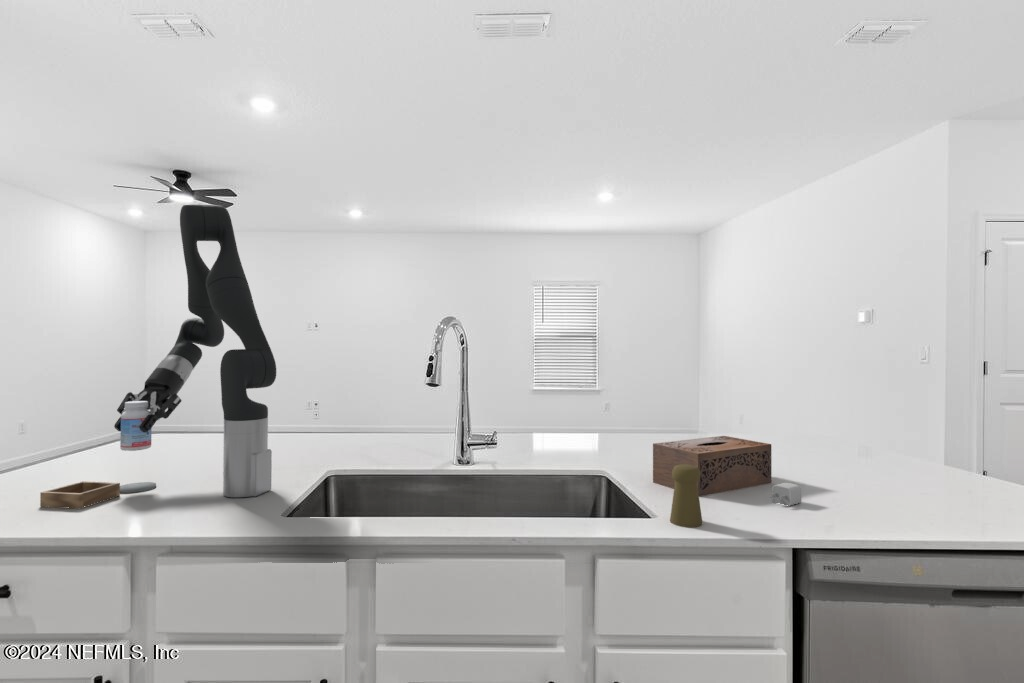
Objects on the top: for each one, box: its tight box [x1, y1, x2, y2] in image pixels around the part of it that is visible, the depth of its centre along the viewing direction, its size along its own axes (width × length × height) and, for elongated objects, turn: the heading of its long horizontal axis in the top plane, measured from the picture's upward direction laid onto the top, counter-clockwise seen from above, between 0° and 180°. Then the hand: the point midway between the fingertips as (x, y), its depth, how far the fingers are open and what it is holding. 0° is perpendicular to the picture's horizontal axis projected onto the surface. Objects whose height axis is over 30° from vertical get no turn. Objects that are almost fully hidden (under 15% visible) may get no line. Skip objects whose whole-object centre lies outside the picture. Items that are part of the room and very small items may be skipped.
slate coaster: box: [120, 481, 157, 494], centre depth 128 cm, size 8×8×1 cm
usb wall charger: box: [769, 482, 802, 507], centre depth 117 cm, size 4×7×4 cm, turn 122°
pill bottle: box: [119, 401, 152, 452], centre depth 129 cm, size 6×6×11 cm
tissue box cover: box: [652, 435, 773, 497], centre depth 135 cm, size 26×14×10 cm, turn 118°
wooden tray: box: [39, 480, 121, 509], centre depth 118 cm, size 10×10×3 cm
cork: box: [669, 464, 703, 528], centre depth 105 cm, size 6×6×11 cm
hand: (130, 429), depth 127 cm, fingers closed on pill bottle, 6 cm apart
